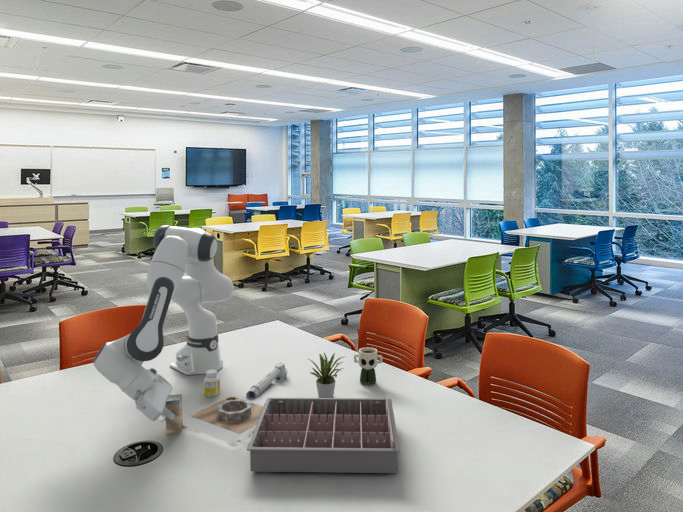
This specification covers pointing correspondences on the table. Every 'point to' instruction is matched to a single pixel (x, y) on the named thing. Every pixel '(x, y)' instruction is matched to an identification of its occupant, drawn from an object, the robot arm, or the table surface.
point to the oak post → (177, 423)
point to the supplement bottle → (212, 383)
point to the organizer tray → (325, 436)
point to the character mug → (367, 364)
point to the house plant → (326, 376)
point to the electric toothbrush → (268, 380)
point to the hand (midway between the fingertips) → (175, 413)
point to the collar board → (230, 424)
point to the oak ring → (231, 398)
